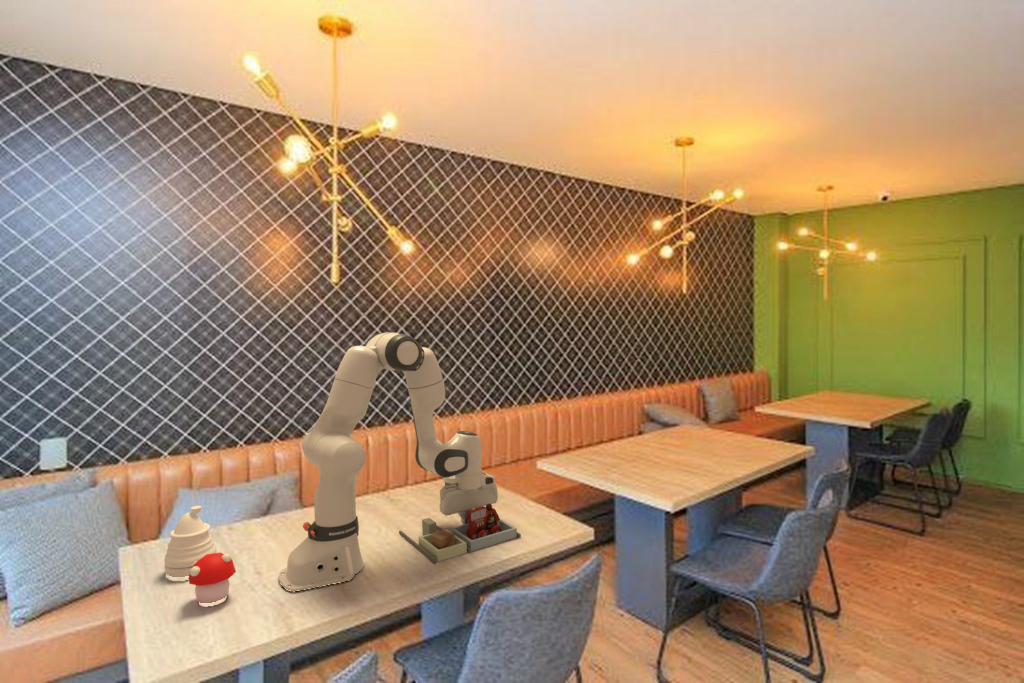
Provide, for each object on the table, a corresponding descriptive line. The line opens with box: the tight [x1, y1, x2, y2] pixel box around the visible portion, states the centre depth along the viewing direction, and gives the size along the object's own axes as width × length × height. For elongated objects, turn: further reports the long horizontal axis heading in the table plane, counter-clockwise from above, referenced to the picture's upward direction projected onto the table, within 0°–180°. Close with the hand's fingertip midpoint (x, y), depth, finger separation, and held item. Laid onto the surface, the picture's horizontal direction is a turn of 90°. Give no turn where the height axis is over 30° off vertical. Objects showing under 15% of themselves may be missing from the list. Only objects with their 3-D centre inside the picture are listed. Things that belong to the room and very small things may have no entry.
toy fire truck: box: [465, 504, 502, 540], centre depth 178 cm, size 7×12×10 cm, turn 134°
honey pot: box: [164, 505, 218, 577], centre depth 160 cm, size 13×13×18 cm
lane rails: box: [398, 524, 522, 565], centre depth 180 cm, size 30×26×1 cm
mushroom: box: [188, 552, 237, 603], centre depth 143 cm, size 11×11×12 cm
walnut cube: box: [431, 529, 455, 550], centre depth 170 cm, size 5×5×5 cm
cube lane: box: [418, 517, 468, 563], centre depth 172 cm, size 10×18×6 cm, turn 34°
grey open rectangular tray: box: [450, 509, 518, 552], centre depth 180 cm, size 17×18×6 cm
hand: (469, 521), depth 186 cm, fingers closed on grey open rectangular tray, 2 cm apart
